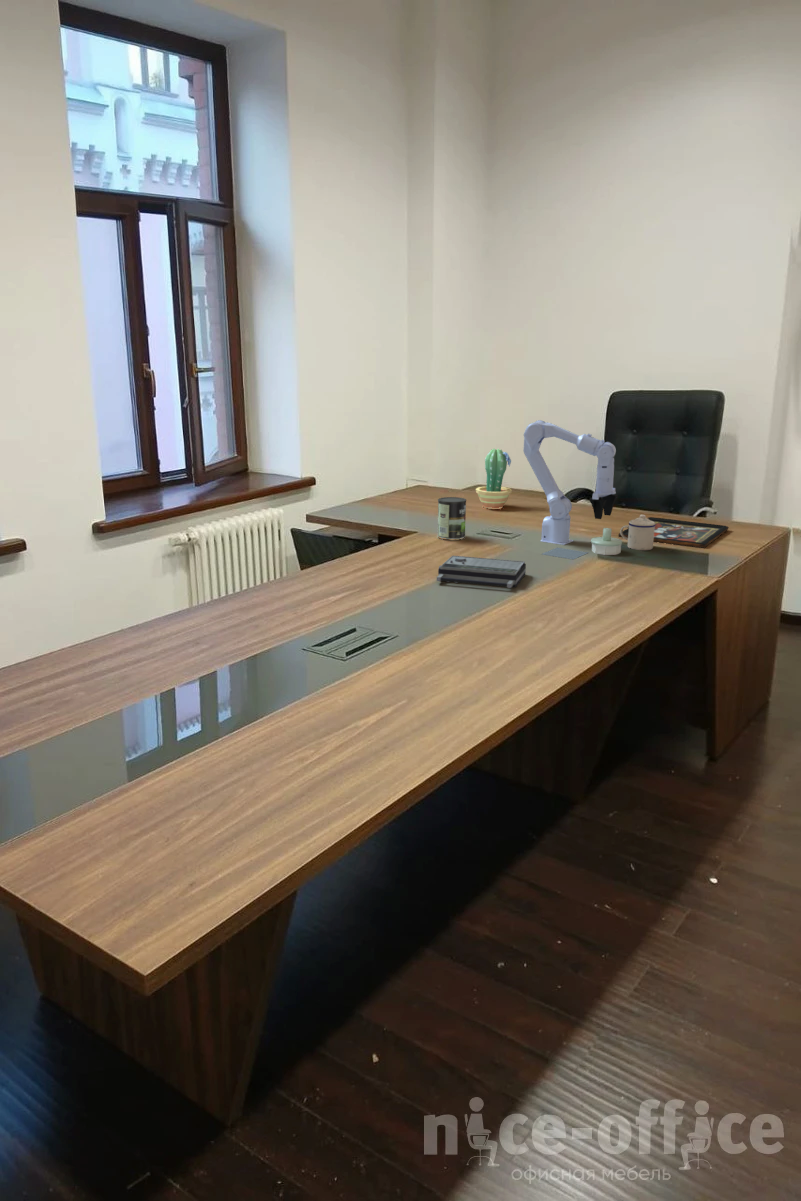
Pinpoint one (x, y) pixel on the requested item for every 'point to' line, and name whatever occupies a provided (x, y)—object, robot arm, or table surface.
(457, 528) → the coffee can
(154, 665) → the table surface
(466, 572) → the radio
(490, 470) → the potted cactus
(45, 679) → the table surface
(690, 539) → the framed painting
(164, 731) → the table surface
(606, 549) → the bowl
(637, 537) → the teacup with lid
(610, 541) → the lid
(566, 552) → the mat
